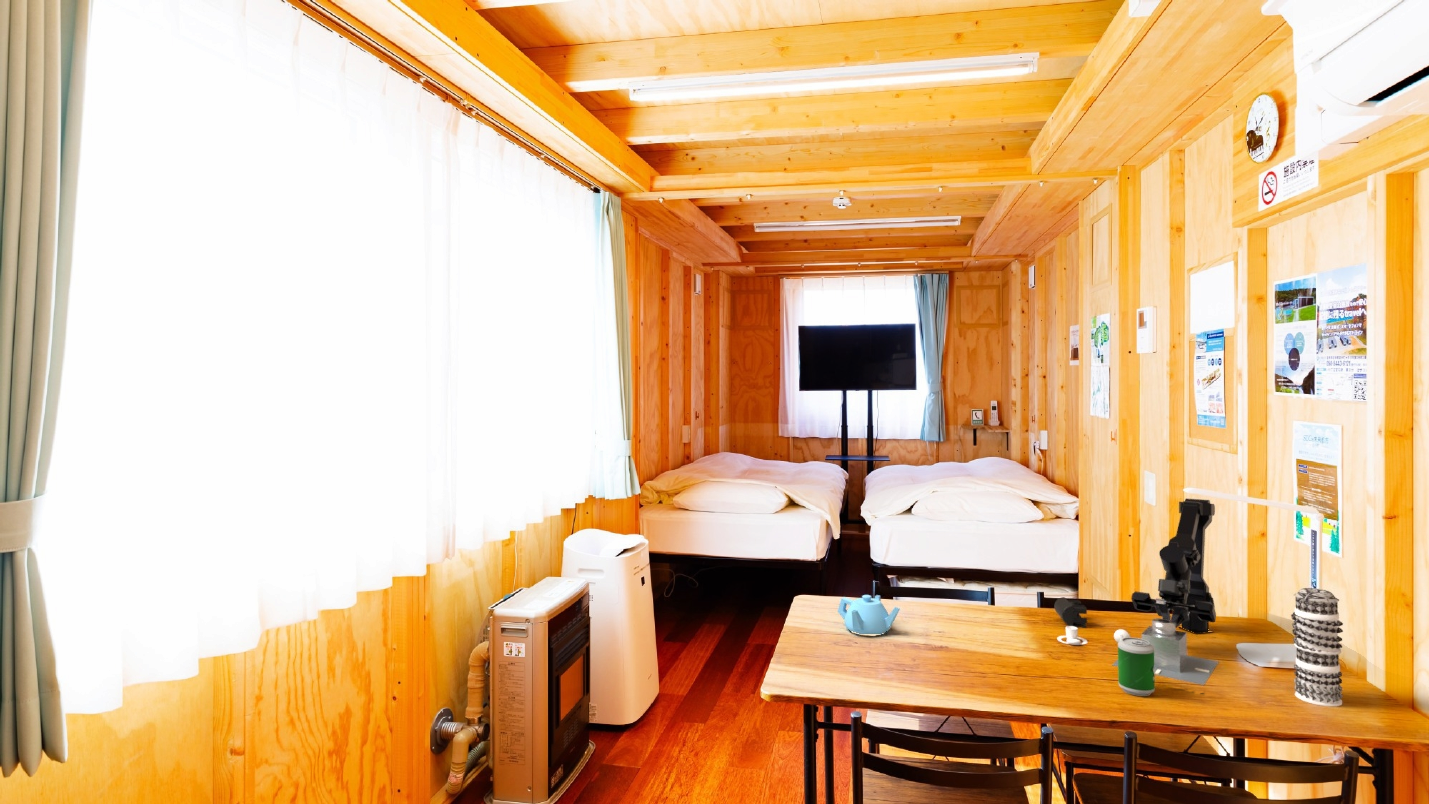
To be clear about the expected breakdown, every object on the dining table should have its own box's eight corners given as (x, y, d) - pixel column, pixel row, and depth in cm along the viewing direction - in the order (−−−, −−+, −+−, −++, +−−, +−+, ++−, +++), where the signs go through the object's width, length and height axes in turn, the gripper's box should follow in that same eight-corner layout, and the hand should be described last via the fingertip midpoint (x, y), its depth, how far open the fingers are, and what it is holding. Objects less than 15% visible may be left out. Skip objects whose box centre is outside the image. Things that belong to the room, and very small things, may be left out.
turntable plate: (1132, 648, 201) (1131, 612, 201) (1218, 665, 187) (1218, 626, 187) (1112, 669, 187) (1111, 630, 187) (1203, 689, 173) (1203, 647, 173)
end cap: (1054, 617, 230) (1053, 596, 230) (1078, 618, 229) (1077, 597, 229) (1062, 627, 221) (1061, 605, 221) (1087, 628, 219) (1087, 606, 219)
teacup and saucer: (1079, 649, 203) (1079, 634, 203) (1051, 642, 209) (1050, 628, 209) (1092, 641, 208) (1091, 627, 208) (1064, 635, 214) (1063, 621, 214)
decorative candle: (1296, 702, 165) (1293, 593, 164) (1289, 687, 172) (1287, 583, 172) (1348, 710, 160) (1346, 598, 160) (1339, 695, 168) (1337, 588, 168)
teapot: (881, 621, 231) (881, 587, 231) (901, 636, 216) (901, 600, 216) (836, 624, 228) (835, 591, 228) (853, 640, 214) (852, 604, 214)
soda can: (1154, 700, 168) (1153, 648, 167) (1117, 693, 172) (1116, 643, 171) (1155, 688, 174) (1154, 639, 174) (1119, 682, 178) (1118, 634, 178)
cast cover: (1150, 655, 193) (1149, 614, 193) (1187, 663, 187) (1186, 620, 187) (1142, 664, 187) (1141, 621, 186) (1180, 672, 181) (1179, 628, 181)
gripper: (1132, 562, 200) (1122, 610, 192) (1213, 572, 187) (1205, 624, 179) (1140, 584, 206) (1130, 632, 198) (1219, 595, 193) (1212, 648, 185)
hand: (1168, 634), depth 190 cm, fingers closed, pressing on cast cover
